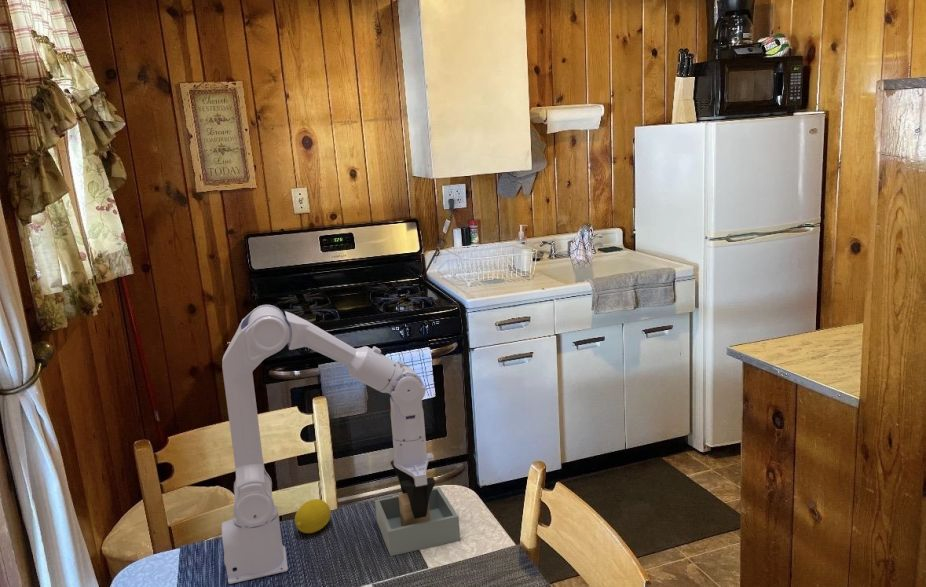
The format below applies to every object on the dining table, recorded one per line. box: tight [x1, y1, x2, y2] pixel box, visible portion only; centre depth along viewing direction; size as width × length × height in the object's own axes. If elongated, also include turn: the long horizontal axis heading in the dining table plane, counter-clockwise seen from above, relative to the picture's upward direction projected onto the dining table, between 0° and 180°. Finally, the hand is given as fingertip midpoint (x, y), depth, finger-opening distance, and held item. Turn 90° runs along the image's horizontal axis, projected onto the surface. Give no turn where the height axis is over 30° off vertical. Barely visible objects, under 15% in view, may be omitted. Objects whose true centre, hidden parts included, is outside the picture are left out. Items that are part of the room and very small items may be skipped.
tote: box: [374, 486, 461, 557], centre depth 127 cm, size 12×12×4 cm
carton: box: [397, 493, 430, 527], centre depth 127 cm, size 4×4×6 cm
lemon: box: [294, 498, 332, 534], centre depth 130 cm, size 6×6×8 cm
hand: (415, 506), depth 126 cm, fingers open, 7 cm apart
